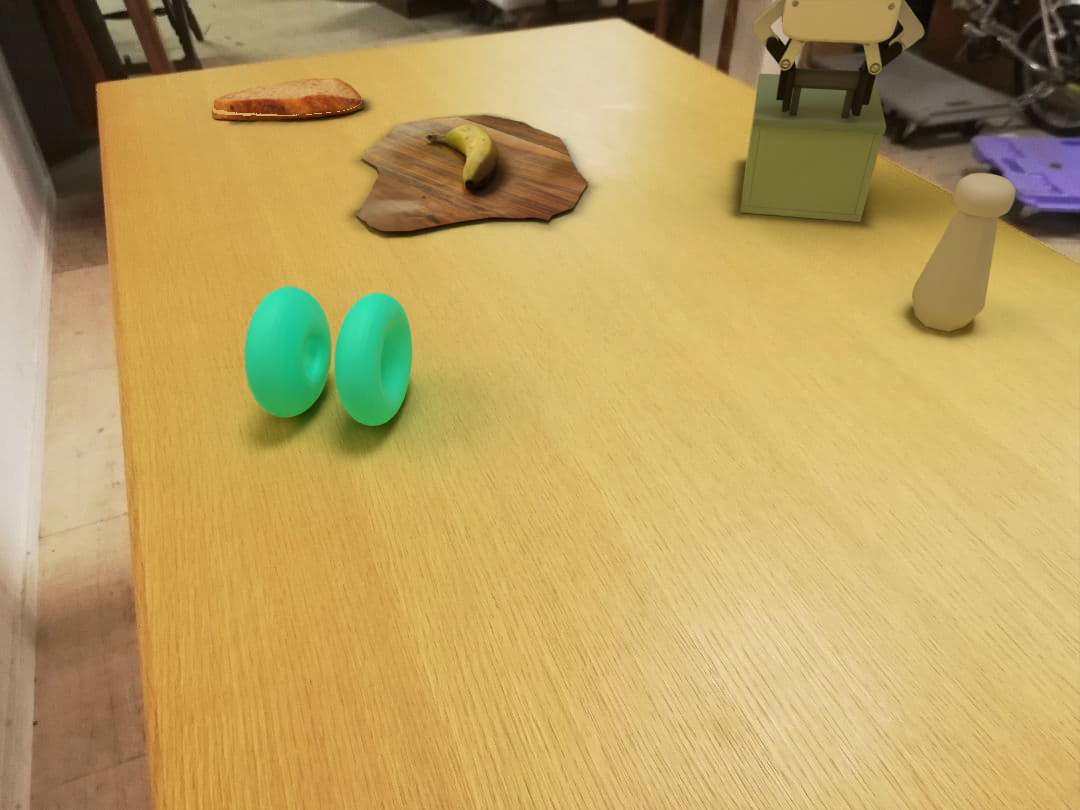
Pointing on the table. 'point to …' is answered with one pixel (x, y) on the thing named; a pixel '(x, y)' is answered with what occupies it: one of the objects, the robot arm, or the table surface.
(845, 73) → the box lid
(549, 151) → the cutting board
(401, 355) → the donuts
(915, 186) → the table surface
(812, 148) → the storage bin
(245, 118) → the bread slice
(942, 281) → the salt shaker
